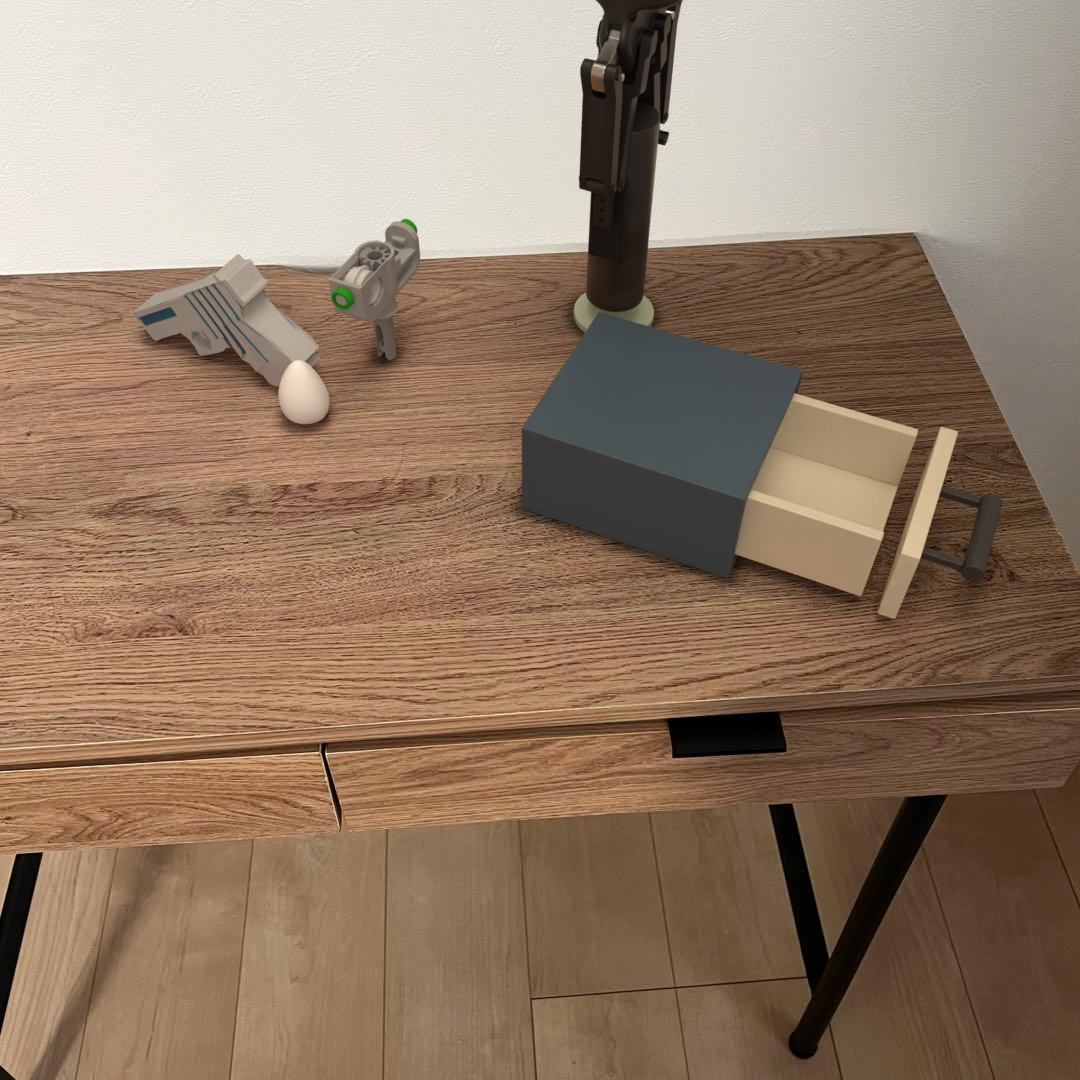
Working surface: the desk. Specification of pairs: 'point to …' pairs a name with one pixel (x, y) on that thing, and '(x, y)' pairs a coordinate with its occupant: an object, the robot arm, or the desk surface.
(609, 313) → the coaster
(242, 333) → the toy gun
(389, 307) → the mechanical component
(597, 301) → the dark brown cylinder
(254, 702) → the desk surface
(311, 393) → the egg
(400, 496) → the desk surface
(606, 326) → the cabinet
